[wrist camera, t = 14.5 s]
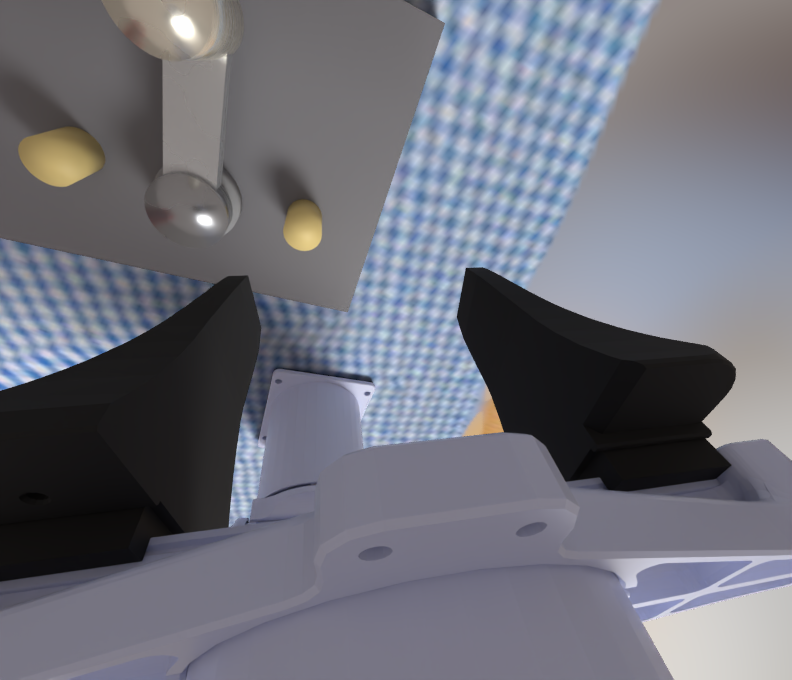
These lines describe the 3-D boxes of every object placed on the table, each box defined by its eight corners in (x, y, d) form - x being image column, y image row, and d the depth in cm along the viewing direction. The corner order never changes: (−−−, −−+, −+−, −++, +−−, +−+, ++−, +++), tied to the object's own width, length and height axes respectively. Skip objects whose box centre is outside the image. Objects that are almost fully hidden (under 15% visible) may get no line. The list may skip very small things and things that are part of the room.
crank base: (346, 303, 24) (349, 333, 21) (-28, 220, 17) (-89, 249, 15) (439, 24, 15) (461, 18, 13) (-215, -333, 9) (-428, -486, 6)
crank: (229, 245, 18) (204, 293, 14) (156, 226, 17) (109, 273, 13) (257, -11, 12) (228, -39, 9) (151, -65, 11) (68, -122, 8)
